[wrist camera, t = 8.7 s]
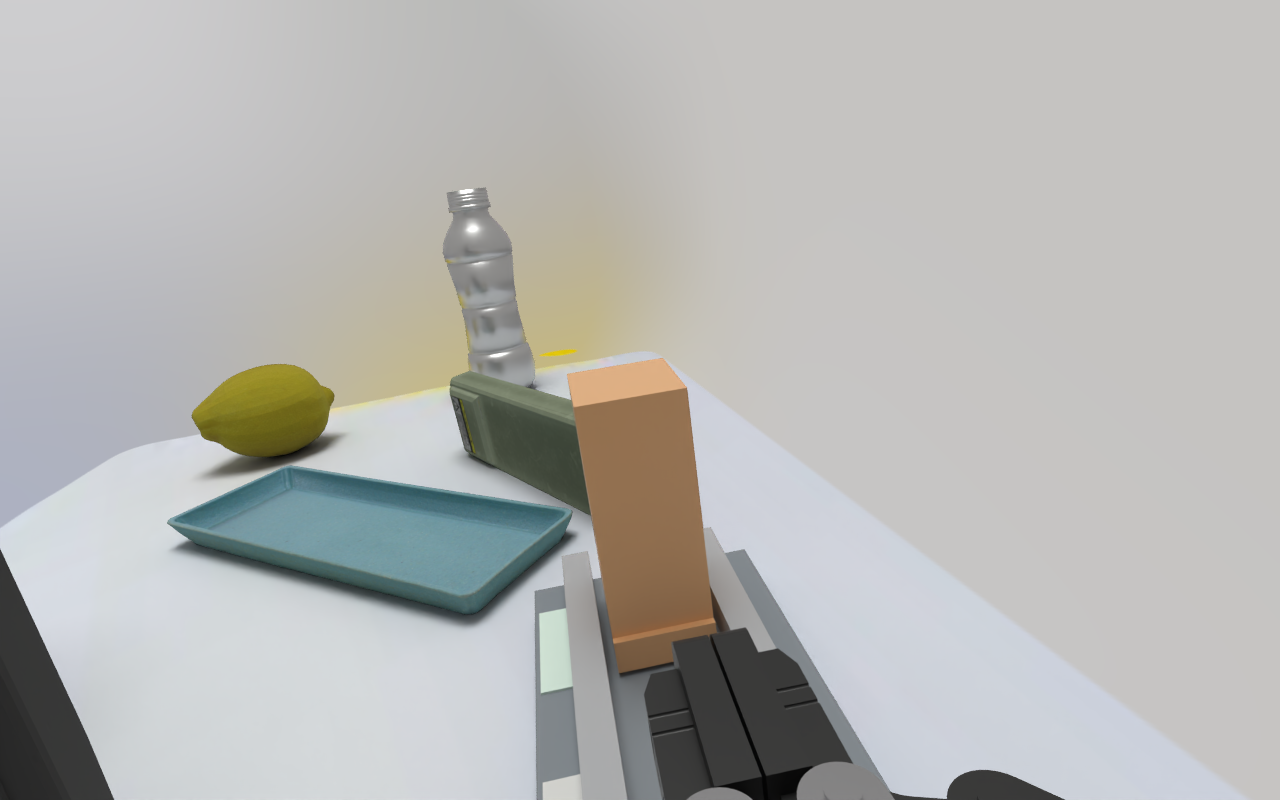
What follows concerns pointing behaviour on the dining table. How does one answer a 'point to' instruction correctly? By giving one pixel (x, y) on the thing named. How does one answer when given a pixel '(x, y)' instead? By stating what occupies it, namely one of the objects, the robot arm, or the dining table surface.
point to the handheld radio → (521, 434)
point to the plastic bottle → (486, 290)
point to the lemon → (265, 411)
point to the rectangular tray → (380, 534)
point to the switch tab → (644, 507)
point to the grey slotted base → (636, 680)
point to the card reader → (38, 715)
